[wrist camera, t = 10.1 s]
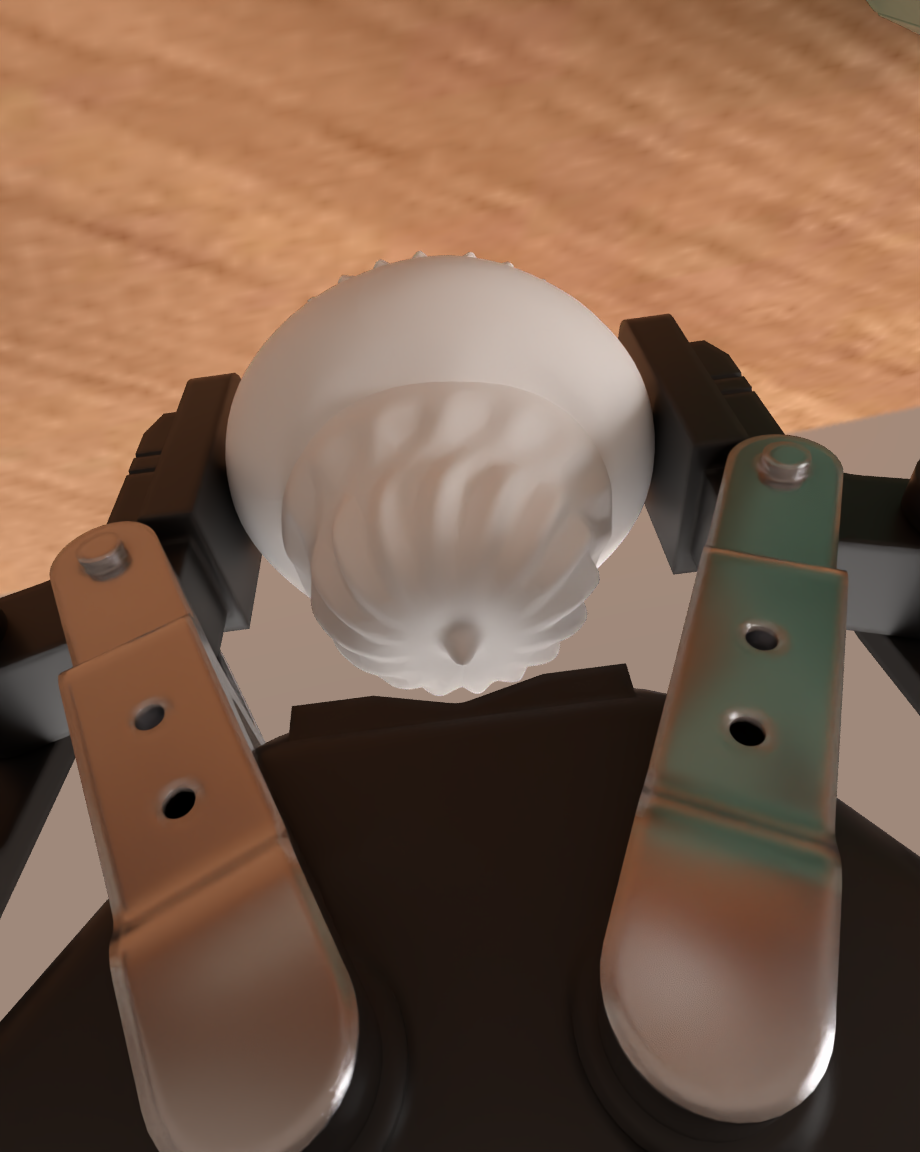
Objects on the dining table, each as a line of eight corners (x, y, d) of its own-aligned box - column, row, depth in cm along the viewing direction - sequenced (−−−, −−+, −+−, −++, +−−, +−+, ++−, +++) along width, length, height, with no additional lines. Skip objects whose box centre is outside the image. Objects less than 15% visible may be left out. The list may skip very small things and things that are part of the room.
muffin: (225, 163, 10) (89, 434, 6) (633, 174, 11) (839, 430, 6) (281, 495, 15) (233, 811, 10) (570, 491, 15) (660, 789, 10)
